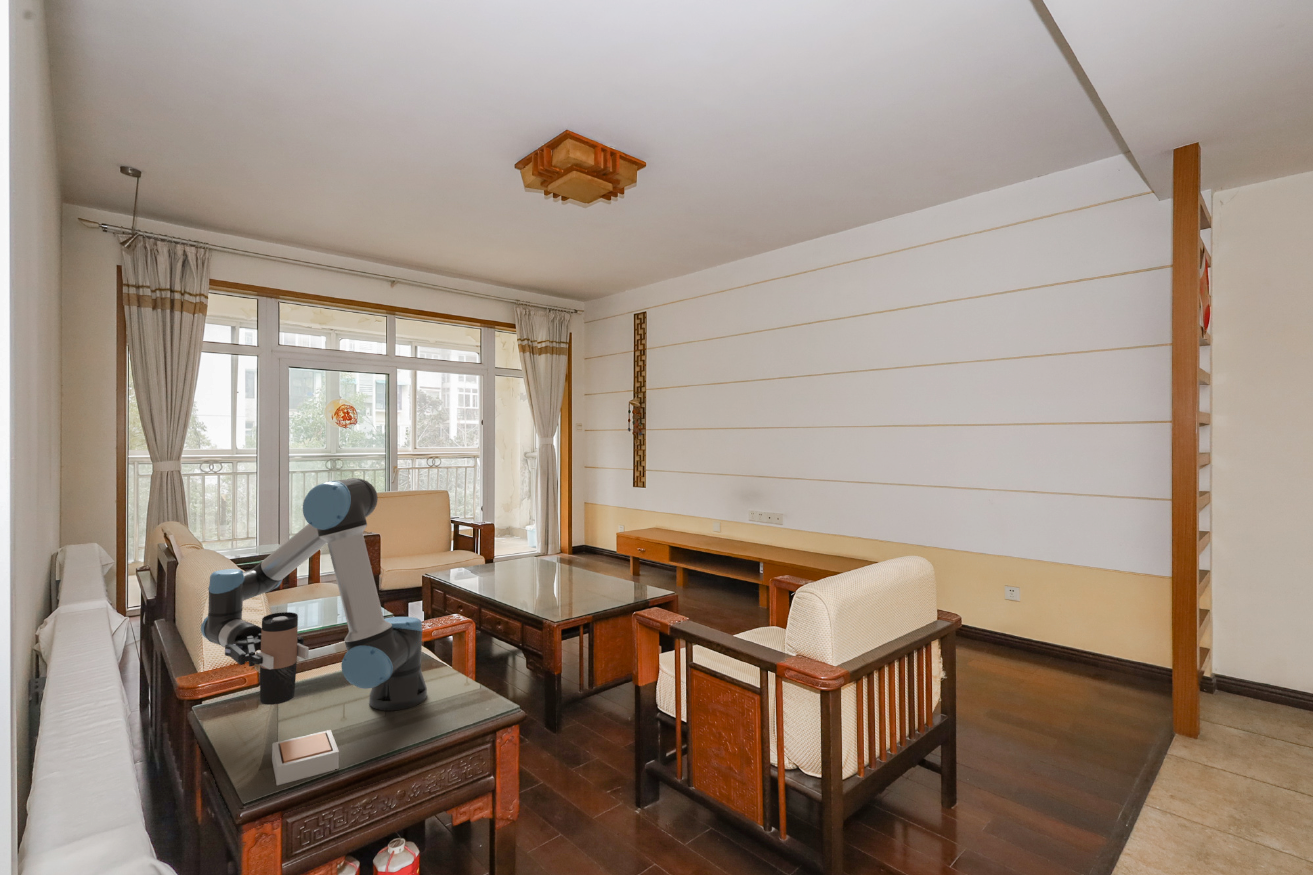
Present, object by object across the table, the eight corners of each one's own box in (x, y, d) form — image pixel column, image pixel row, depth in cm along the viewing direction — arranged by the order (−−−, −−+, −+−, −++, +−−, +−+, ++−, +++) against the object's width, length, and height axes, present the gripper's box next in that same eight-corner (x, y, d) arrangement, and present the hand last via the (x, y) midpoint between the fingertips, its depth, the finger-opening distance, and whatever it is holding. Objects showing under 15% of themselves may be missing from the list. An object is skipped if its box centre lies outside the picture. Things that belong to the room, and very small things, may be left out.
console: (330, 745, 150) (330, 729, 150) (338, 768, 140) (339, 751, 140) (272, 760, 143) (272, 743, 143) (276, 785, 133) (277, 767, 133)
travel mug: (294, 689, 156) (297, 610, 155) (296, 701, 149) (299, 619, 149) (258, 695, 152) (261, 614, 151) (258, 707, 145) (261, 623, 145)
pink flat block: (324, 744, 148) (324, 732, 148) (330, 762, 141) (331, 749, 141) (279, 755, 143) (280, 742, 143) (283, 774, 135) (284, 761, 135)
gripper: (283, 641, 169) (330, 661, 156) (196, 663, 151) (242, 687, 139) (284, 613, 168) (331, 631, 156) (197, 633, 151) (243, 654, 139)
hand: (289, 658), depth 148 cm, fingers closed on travel mug, 7 cm apart
